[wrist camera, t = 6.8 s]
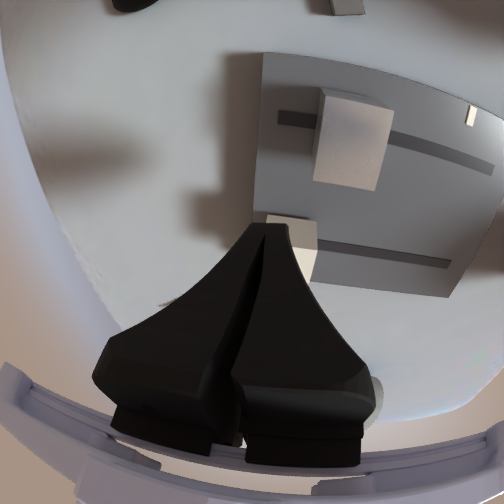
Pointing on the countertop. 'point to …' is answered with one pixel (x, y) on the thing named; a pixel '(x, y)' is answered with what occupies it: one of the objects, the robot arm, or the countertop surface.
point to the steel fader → (350, 139)
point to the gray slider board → (381, 178)
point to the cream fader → (301, 241)
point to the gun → (341, 3)
